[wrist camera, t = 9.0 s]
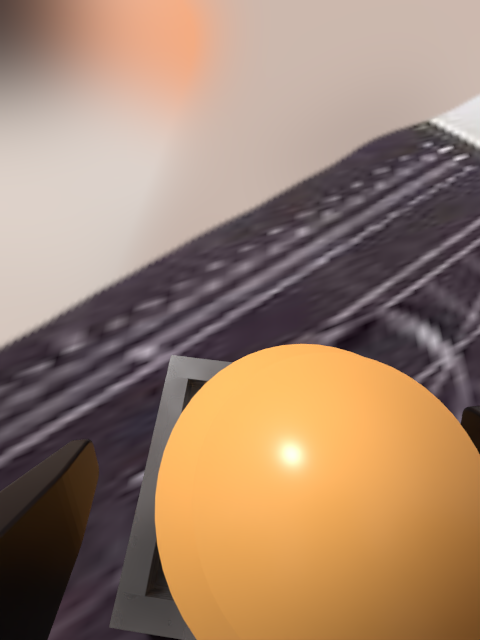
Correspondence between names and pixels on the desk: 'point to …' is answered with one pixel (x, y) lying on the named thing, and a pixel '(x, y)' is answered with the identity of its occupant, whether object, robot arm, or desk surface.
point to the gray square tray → (142, 552)
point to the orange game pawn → (320, 504)
